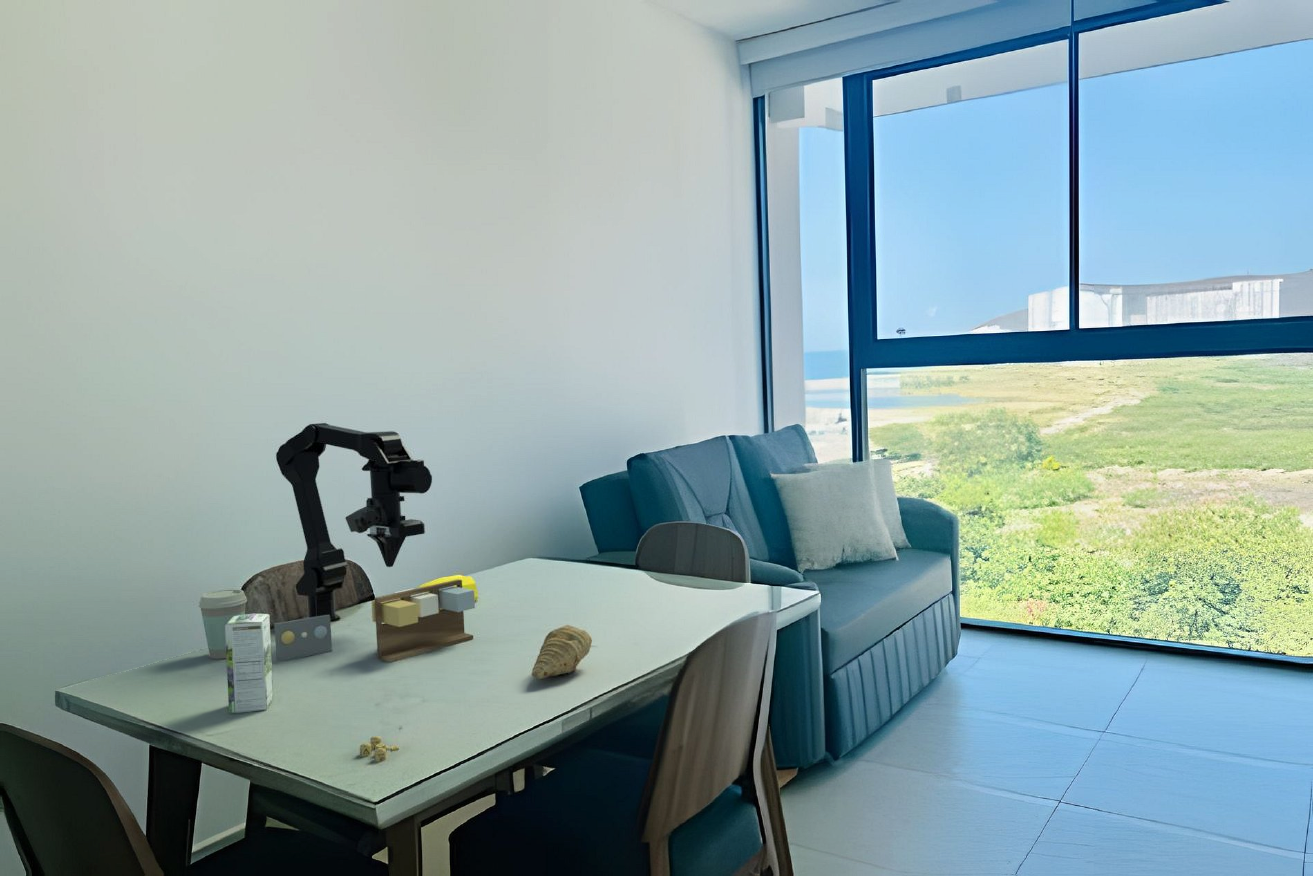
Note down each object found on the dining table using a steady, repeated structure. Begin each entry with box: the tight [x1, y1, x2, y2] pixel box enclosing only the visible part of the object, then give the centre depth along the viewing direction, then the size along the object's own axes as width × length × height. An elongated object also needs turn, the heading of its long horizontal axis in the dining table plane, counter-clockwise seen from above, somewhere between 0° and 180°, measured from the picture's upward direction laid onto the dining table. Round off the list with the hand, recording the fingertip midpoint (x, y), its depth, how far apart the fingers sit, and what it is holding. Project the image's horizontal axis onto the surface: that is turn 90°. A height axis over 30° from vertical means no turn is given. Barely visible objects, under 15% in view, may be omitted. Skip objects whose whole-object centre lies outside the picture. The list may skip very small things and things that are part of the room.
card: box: [273, 615, 333, 662], centre depth 184 cm, size 1×10×7 cm, turn 124°
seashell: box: [531, 624, 593, 680], centre depth 166 cm, size 14×8×8 cm, turn 160°
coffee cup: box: [198, 588, 248, 660], centre depth 187 cm, size 8×9×12 cm
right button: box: [439, 586, 476, 612], centre depth 190 cm, size 9×4×4 cm, turn 48°
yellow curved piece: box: [418, 574, 479, 610], centre depth 220 cm, size 18×7×8 cm
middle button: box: [392, 587, 439, 617], centre depth 187 cm, size 9×4×4 cm, turn 48°
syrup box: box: [225, 613, 274, 714], centre depth 155 cm, size 6×6×14 cm
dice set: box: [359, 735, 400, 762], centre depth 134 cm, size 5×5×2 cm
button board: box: [374, 579, 474, 663], centre depth 186 cm, size 4×19×12 cm, turn 138°
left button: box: [371, 599, 418, 627], centre depth 181 cm, size 9×4×4 cm, turn 48°
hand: (389, 566), depth 202 cm, fingers closed
